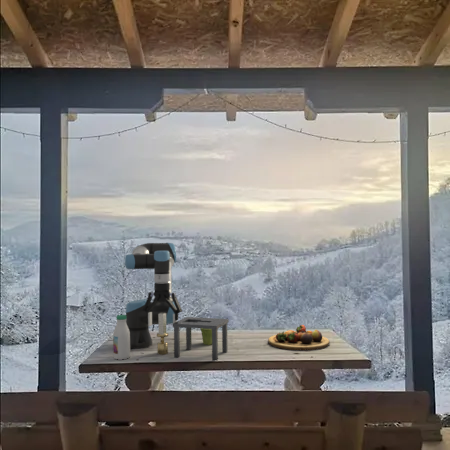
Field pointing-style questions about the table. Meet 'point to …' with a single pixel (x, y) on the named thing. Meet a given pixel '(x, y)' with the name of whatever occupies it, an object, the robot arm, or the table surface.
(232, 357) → the table surface
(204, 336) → the plant pot
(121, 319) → the milk bottle
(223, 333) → the shelf
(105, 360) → the table surface
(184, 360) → the table surface
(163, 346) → the brass hanging weight
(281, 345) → the wooden plate with food
